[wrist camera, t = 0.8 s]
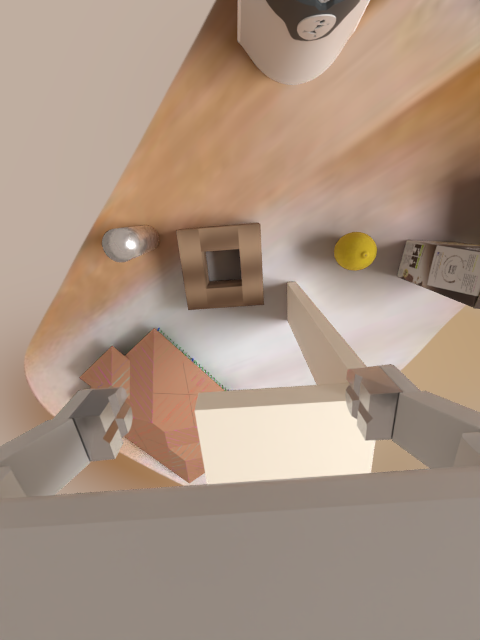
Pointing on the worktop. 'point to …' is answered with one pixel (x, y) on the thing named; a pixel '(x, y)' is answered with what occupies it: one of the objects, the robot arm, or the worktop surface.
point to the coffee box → (444, 269)
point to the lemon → (355, 251)
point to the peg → (129, 242)
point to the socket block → (196, 270)
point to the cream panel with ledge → (288, 414)
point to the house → (158, 399)
